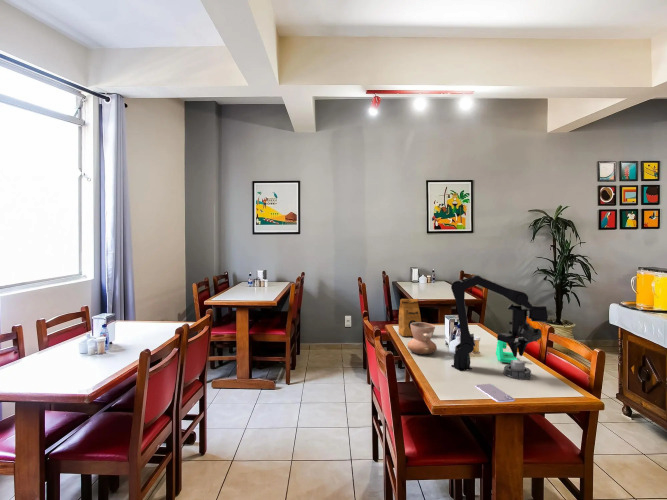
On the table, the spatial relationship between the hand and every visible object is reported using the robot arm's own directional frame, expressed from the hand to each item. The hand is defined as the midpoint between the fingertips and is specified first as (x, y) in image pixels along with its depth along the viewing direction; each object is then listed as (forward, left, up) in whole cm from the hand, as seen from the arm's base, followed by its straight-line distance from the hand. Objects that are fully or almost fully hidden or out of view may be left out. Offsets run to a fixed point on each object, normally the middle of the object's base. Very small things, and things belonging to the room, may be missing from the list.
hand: (518, 356), depth 160 cm
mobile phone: (-24, -11, -9) cm, 28 cm away
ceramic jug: (-20, +41, -8) cm, 46 cm away
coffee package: (-8, +70, -8) cm, 71 cm away
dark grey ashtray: (0, 0, -8) cm, 8 cm away
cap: (0, 0, -7) cm, 7 cm away
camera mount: (+11, +16, -8) cm, 21 cm away
